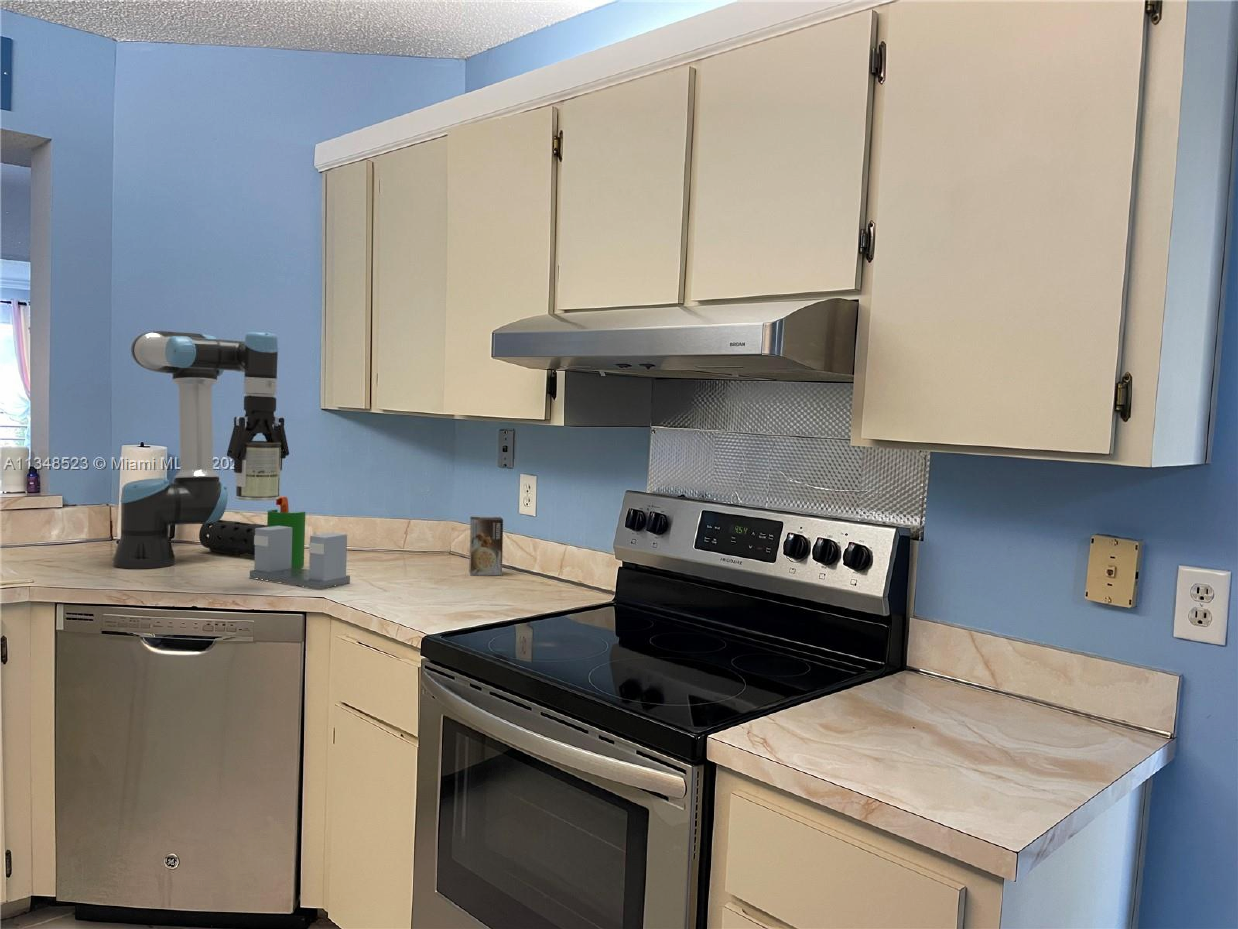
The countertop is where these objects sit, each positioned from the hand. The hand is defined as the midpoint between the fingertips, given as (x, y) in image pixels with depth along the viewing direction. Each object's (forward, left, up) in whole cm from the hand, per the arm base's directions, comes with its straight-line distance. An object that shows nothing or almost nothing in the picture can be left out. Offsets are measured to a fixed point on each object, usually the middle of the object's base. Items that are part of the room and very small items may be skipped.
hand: (258, 485), depth 232 cm
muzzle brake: (-37, +31, -26) cm, 55 cm away
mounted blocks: (+2, +13, -24) cm, 27 cm away
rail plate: (+2, +13, -26) cm, 29 cm away
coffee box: (+33, +53, -26) cm, 67 cm away
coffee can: (0, 0, -3) cm, 3 cm away
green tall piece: (-16, +25, -26) cm, 40 cm away
